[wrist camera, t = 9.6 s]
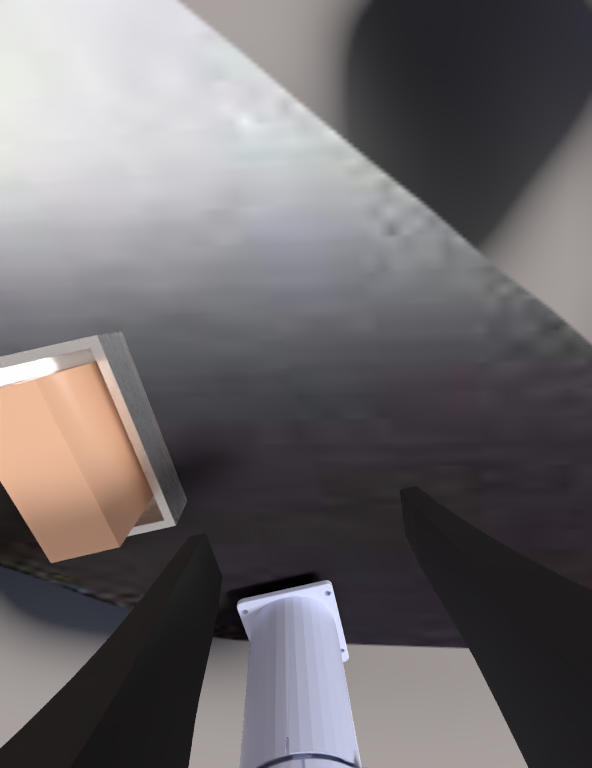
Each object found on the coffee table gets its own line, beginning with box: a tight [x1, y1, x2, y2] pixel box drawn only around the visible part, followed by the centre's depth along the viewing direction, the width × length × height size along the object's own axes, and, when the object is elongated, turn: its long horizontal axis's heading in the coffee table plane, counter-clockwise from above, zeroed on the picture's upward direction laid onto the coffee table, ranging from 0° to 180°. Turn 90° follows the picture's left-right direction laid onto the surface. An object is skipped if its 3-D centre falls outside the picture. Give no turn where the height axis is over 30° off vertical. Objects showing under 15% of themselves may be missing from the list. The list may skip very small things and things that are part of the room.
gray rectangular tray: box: [0, 331, 187, 536], centre depth 18 cm, size 13×7×2 cm, turn 12°
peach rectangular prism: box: [0, 361, 154, 563], centre depth 17 cm, size 4×10×5 cm, turn 13°
